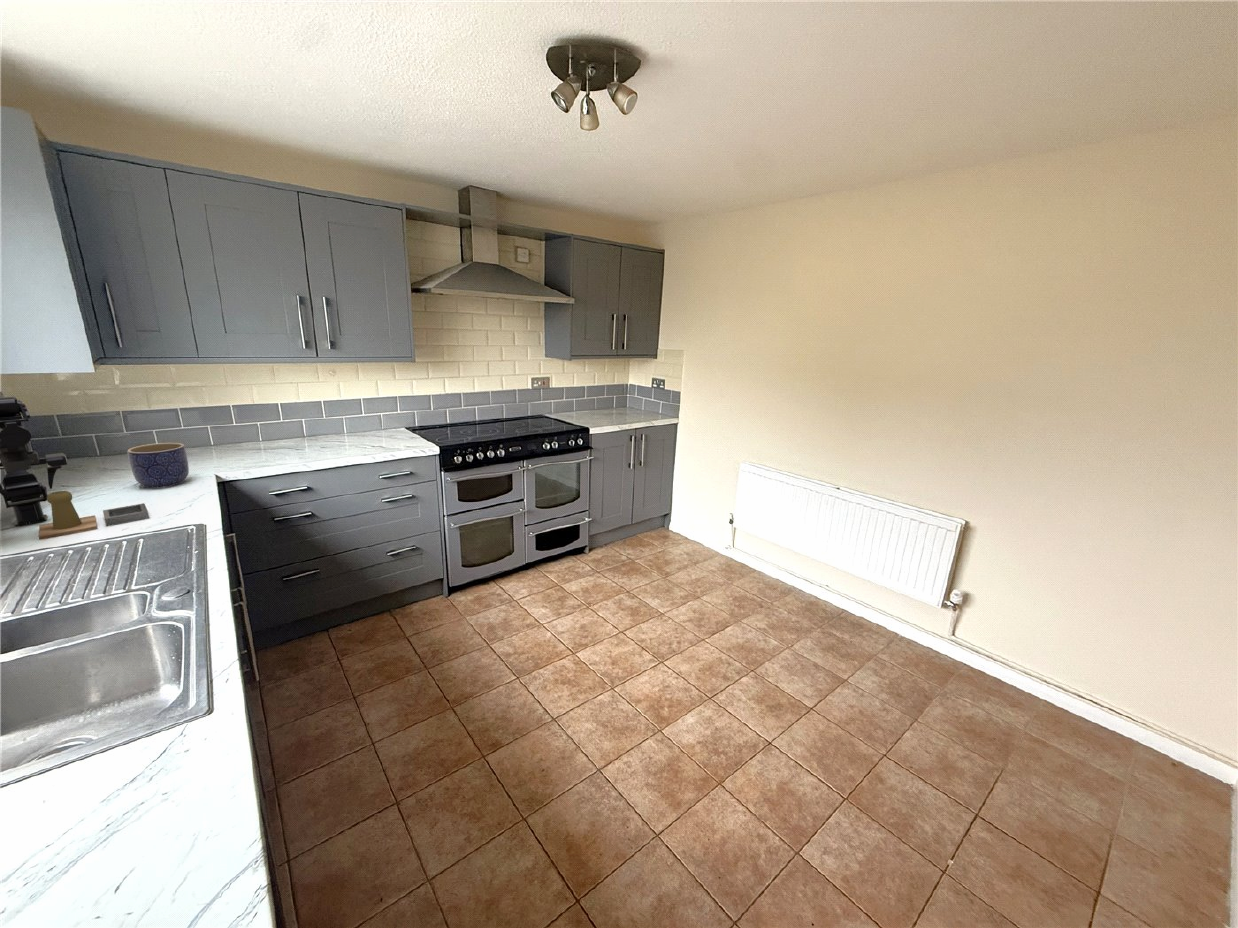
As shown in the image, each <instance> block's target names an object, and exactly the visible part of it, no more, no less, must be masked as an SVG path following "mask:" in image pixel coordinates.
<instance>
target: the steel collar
mask: <svg viewBox="0 0 1238 928" xmlns="http://www.w3.org/2000/svg"><path fill="white" fill-rule="evenodd" d="M102 512H103V519H104V521H105V526H106V527H111V526H115V525H122V524H127V523H132V522H137V521H141V520H147V519H150V515H149V511H148V508H147V506H146V504H145V502H143V503H138V504H131V505H126V506H121V507H115V508H114V507H113V508H108V509H102Z"/></svg>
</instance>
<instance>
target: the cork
mask: <svg viewBox="0 0 1238 928" xmlns="http://www.w3.org/2000/svg"><path fill="white" fill-rule="evenodd" d="M47 495H48V496H47V501H46V502H48V503H49V504H50V507H51V516H52V523H53V528H54V529H67V528H72V527H76V526H79V525H81V524H82V522H81V520H80V518H81V517H80V516H79V514H78V512H77V510H76V508H75V507H74V505H73V504H74V503H72V500H73V494H72V493H71V492H70V491H68V490H67V491H66V490H60V491H54V492H51V493H49V494H47Z"/></svg>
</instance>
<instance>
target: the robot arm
mask: <svg viewBox="0 0 1238 928" xmlns="http://www.w3.org/2000/svg"><path fill="white" fill-rule="evenodd" d="M30 417H31V415H30V413H29V411H28V409H27V406H26V404H25V403H23V402H22V401H21V400H18V399H17V398H16V397H15V396H6V397H5V396H4V394H3V392H2V391H0V470H3V471H4V474H5V476H4V477H3V479H2V481H1V483H0V496H1V499H2V504H3V506H4V507H5V508H6V509H9V508H12V510H13V513H14V516H15V521H14V527H19V526H25V525H26V526H27V525H31V524H36V523H37V524H38V523H43V522H44V523H45V522H47V519H48V515H47V514H44V512H43V508H42V505H41V503H42V502H48V501H47V496H48V495H49V494H48V490H47V486H46V485H43V483H42V482H39V481H38V478H37V477H36V475H35V474H33V472H32V473H30V472H28V470H30V469H31V468H32V467H33V466H39V465H40V466H41V465H42V466H43V465H46V471H47V480H48V481H47V482H48V483H47V484H48V486H49V489H51V490H52V489H53V484H54V478H55V475H56V472H57V470H59V469H62V468H63V466H66V465H67V466H68V459H67V456H66V455H67V454H66V453H63V452H58V453H57V452H56V453H51V454H45V457H40V458H39V454H38V452H37V451H36V450H34V451H32V450H31V447H30V445H29V443H30V442H31V440H32V434H31V432H30V431H29V430H28V429H26V428H25V427H24V426H23V422H29V419H31V418H30Z"/></svg>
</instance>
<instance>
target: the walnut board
mask: <svg viewBox="0 0 1238 928" xmlns="http://www.w3.org/2000/svg"><path fill="white" fill-rule="evenodd" d="M79 518H80V520H81V522H82V524H81V525H79V526H76V527H72V528H67V529H54V528H53V522H50V523H44V524H39V525H38V536H37V537H38V540H39V541H41V540H46V539H51V538H57V537H64V536H67V535H73V534H77V533H84V532H88V531H94V530H98V524H97V517H96V515H94V514H93V515H90V516H89V515H88V516H84V517H79Z"/></svg>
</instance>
